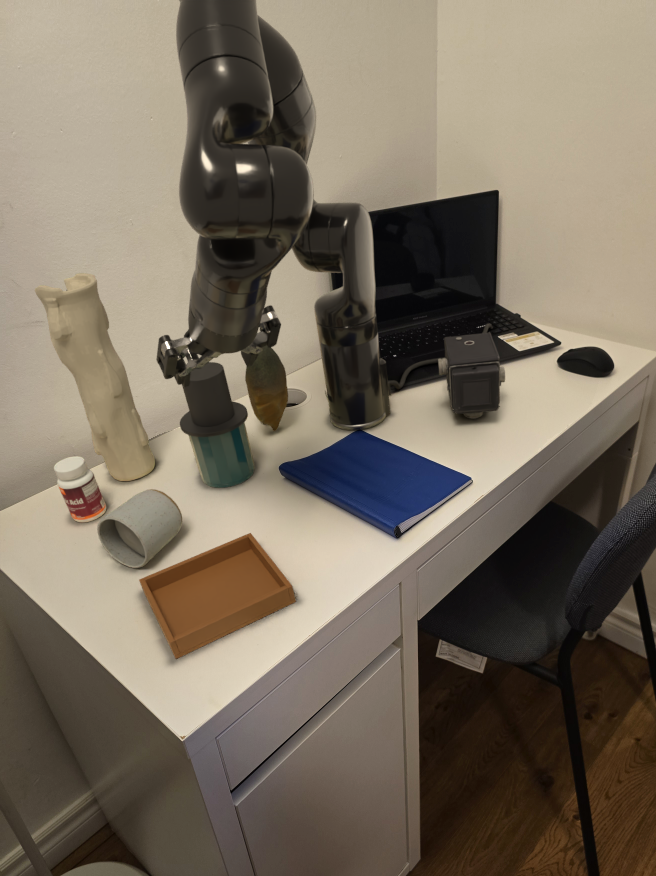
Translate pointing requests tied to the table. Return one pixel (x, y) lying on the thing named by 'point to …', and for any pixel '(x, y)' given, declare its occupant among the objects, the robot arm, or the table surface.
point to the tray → (216, 593)
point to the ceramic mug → (140, 527)
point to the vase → (97, 375)
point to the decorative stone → (267, 387)
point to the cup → (224, 458)
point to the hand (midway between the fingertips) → (215, 369)
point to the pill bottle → (79, 489)
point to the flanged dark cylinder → (210, 404)
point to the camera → (472, 374)
